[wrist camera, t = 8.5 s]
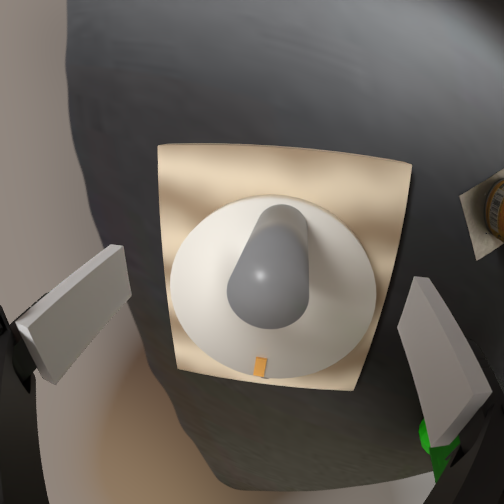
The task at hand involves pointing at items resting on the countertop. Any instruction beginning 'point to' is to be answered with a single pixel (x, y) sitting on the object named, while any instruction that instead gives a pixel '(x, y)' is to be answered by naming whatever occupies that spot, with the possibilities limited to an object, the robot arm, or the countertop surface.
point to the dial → (273, 287)
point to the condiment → (485, 214)
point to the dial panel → (292, 184)
